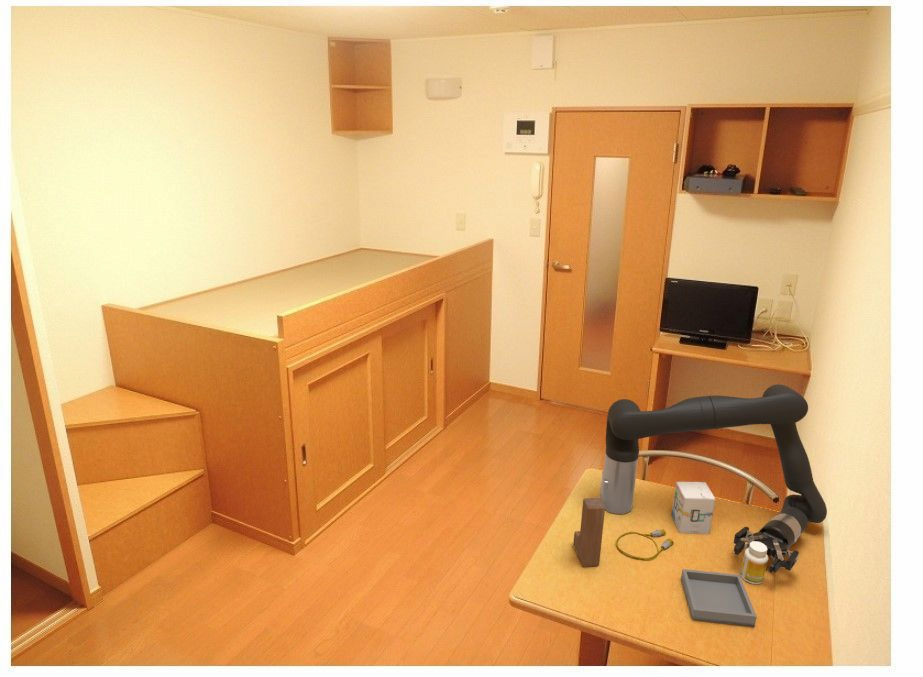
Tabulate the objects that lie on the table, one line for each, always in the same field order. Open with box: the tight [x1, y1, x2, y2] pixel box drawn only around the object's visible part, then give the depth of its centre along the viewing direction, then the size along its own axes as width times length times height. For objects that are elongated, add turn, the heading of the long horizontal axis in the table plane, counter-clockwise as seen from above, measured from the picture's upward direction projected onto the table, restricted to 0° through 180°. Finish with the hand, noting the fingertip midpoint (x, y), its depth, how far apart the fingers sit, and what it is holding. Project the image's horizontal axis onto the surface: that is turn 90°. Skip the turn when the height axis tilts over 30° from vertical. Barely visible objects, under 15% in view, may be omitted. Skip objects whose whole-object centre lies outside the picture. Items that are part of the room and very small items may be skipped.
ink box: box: [671, 480, 716, 535], centre depth 173 cm, size 9×8×12 cm
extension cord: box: [615, 528, 675, 562], centre depth 165 cm, size 12×16×2 cm
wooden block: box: [573, 497, 606, 568], centre depth 159 cm, size 9×4×18 cm, turn 6°
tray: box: [680, 568, 758, 628], centre depth 146 cm, size 14×14×3 cm
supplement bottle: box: [739, 541, 769, 585], centre depth 153 cm, size 5×5×10 cm
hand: (753, 560), depth 151 cm, fingers open, 8 cm apart
